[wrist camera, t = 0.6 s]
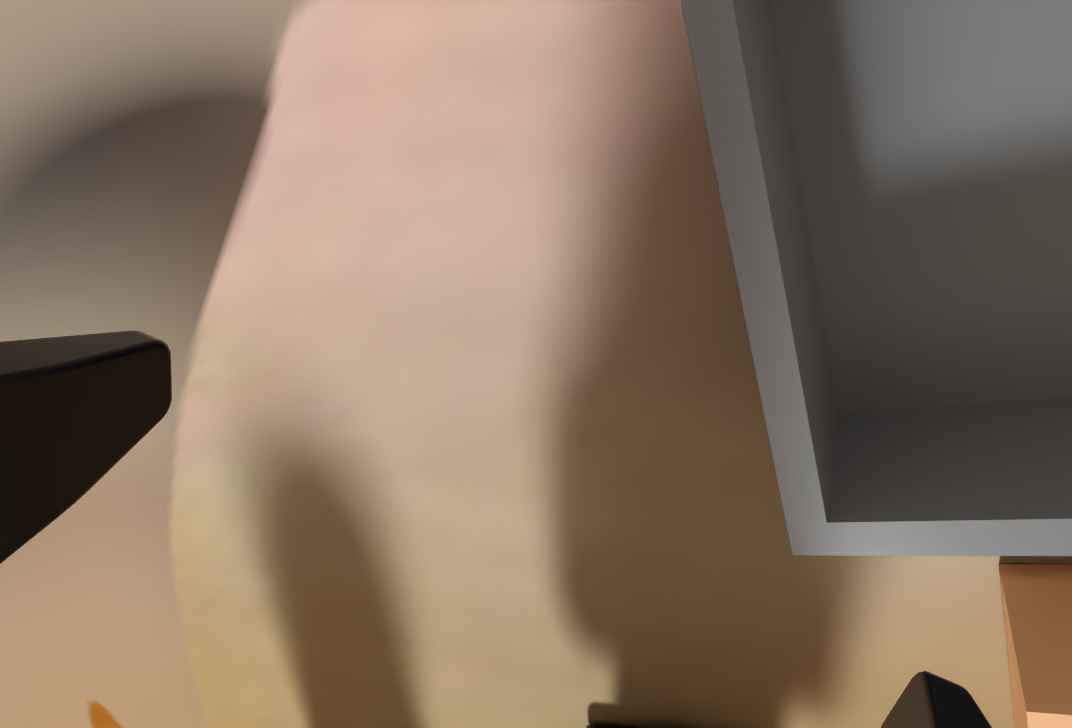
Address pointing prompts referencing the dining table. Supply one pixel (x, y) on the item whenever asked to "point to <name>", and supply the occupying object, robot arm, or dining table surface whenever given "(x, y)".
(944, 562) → the dining table surface
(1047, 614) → the orange crate
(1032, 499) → the grey open box
